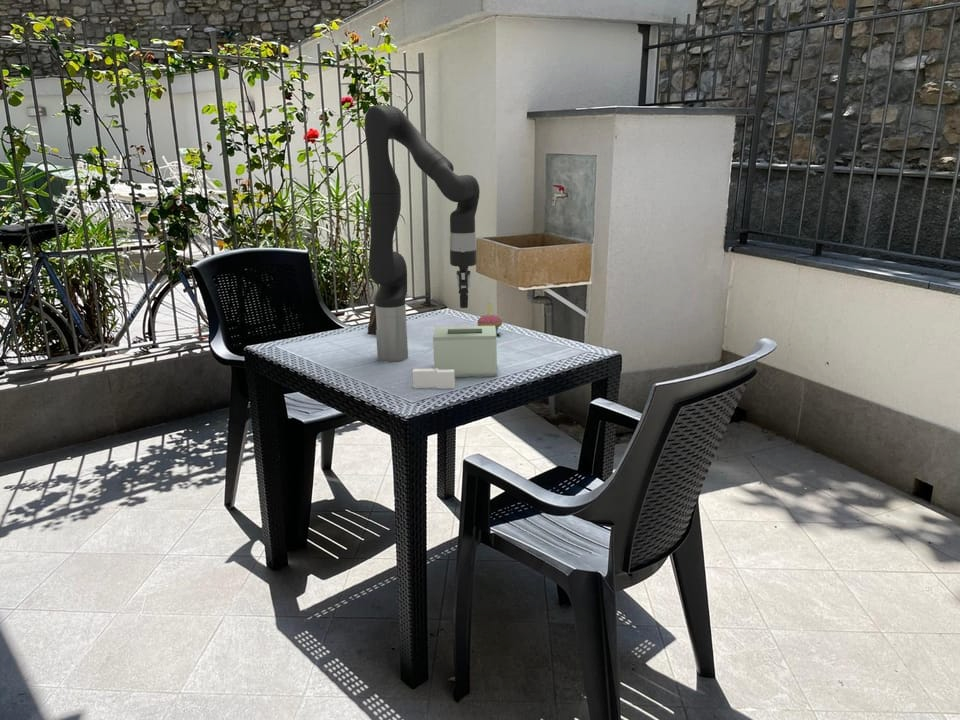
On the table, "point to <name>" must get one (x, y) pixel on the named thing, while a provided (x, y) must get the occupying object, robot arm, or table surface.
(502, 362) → the table surface
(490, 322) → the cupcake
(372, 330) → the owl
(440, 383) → the napkin holder
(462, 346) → the box
